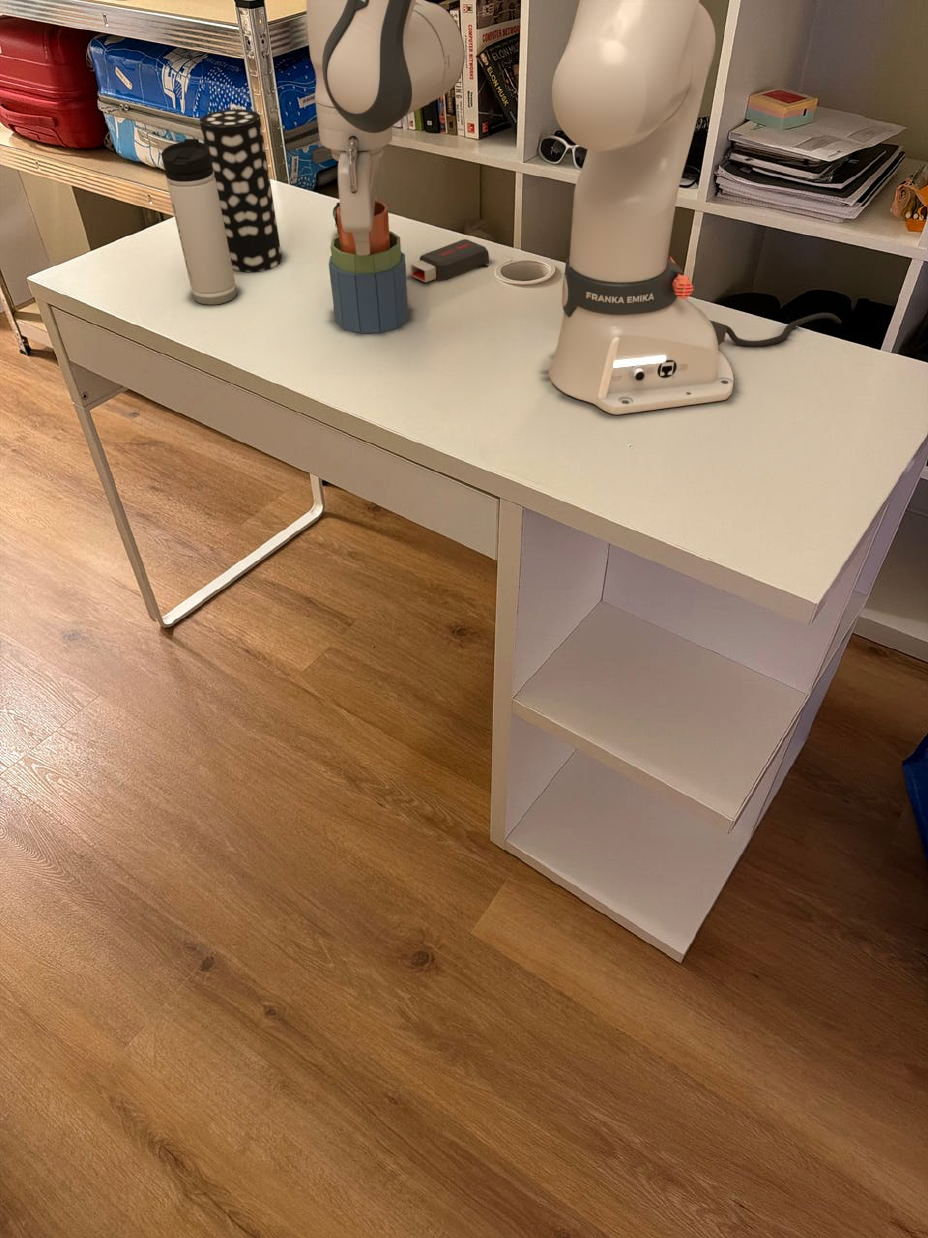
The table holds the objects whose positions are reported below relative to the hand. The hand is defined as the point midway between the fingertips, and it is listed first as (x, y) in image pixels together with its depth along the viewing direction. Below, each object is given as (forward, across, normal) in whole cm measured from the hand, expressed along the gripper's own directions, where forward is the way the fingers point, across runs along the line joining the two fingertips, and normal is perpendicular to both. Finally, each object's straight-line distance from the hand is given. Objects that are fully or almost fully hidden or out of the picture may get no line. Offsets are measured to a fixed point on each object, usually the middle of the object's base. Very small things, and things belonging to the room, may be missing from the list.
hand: (365, 240), depth 119 cm
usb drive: (+10, +15, -11) cm, 21 cm away
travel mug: (+11, +8, +23) cm, 26 cm away
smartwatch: (+11, +29, +6) cm, 31 cm away
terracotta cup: (+5, 0, 0) cm, 5 cm away
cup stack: (+10, 0, 0) cm, 10 cm away
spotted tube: (+11, +20, +19) cm, 29 cm away
